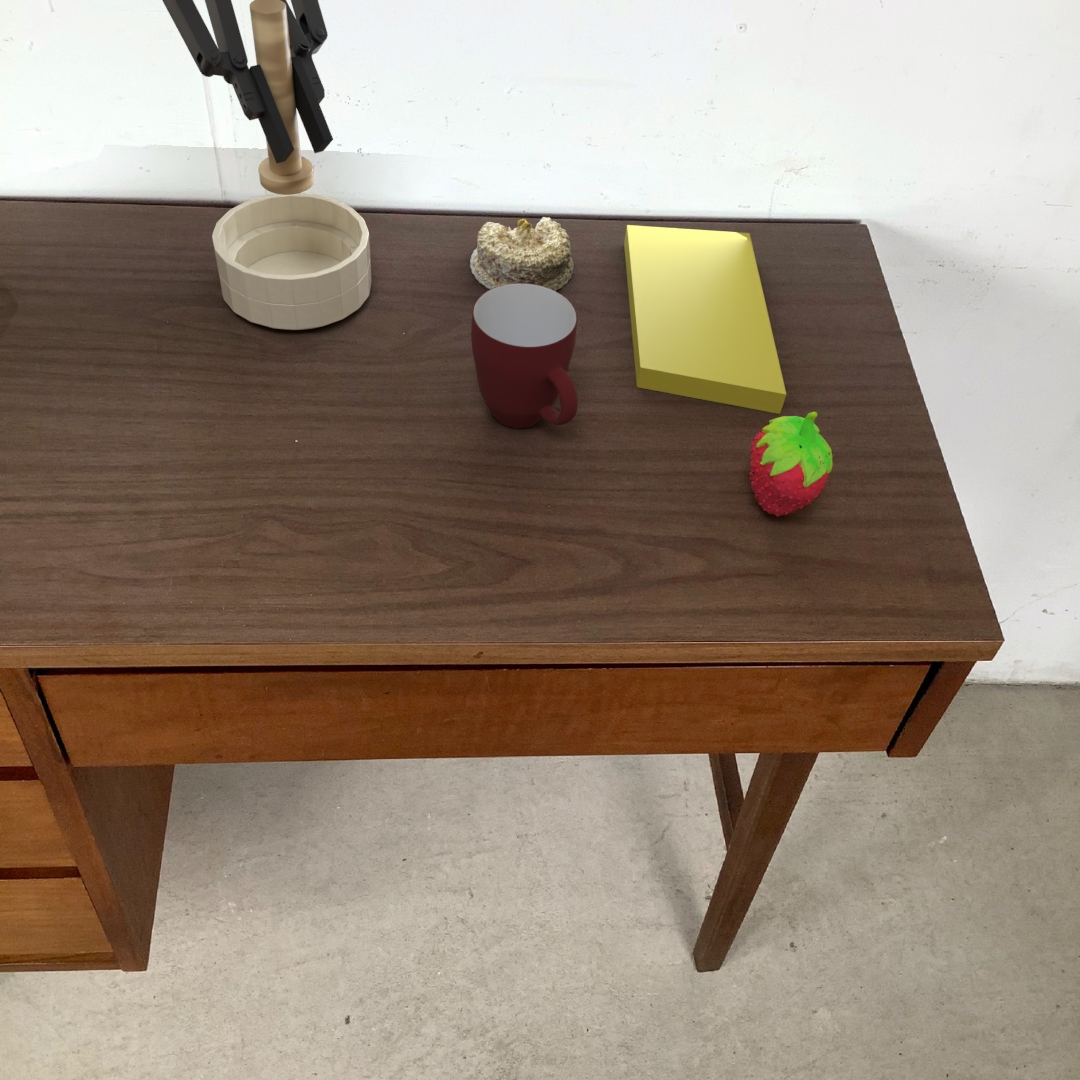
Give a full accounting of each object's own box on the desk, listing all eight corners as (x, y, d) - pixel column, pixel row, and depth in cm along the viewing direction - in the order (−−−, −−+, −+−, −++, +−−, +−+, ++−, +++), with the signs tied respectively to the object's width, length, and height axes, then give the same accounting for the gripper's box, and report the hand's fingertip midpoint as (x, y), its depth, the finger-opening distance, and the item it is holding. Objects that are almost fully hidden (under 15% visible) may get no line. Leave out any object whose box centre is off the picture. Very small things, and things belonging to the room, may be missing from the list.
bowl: (263, 354, 91) (254, 296, 86) (198, 275, 97) (187, 217, 93) (398, 307, 96) (396, 250, 92) (327, 235, 103) (322, 178, 99)
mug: (607, 431, 88) (624, 334, 80) (539, 477, 83) (549, 379, 76) (517, 368, 92) (525, 270, 85) (448, 409, 88) (449, 309, 80)
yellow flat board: (624, 244, 106) (638, 405, 90) (627, 225, 104) (642, 386, 88) (744, 252, 106) (779, 414, 91) (749, 233, 105) (786, 394, 89)
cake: (589, 292, 101) (596, 246, 97) (489, 311, 98) (493, 265, 94) (550, 228, 106) (556, 181, 102) (455, 244, 103) (456, 197, 99)
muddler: (275, 200, 86) (253, 22, 75) (250, 175, 88) (226, -1, 78) (324, 186, 88) (309, 11, 77) (299, 162, 90) (281, -12, 80)
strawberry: (806, 474, 86) (842, 379, 78) (816, 543, 81) (855, 448, 74) (735, 467, 86) (764, 371, 78) (740, 536, 81) (772, 440, 73)
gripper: (264, -144, 85) (377, 144, 89) (68, -119, 78) (200, 192, 83) (288, -204, 79) (409, 111, 83) (76, -182, 72) (219, 160, 76)
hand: (304, 150), depth 83 cm, fingers closed on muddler, 3 cm apart
